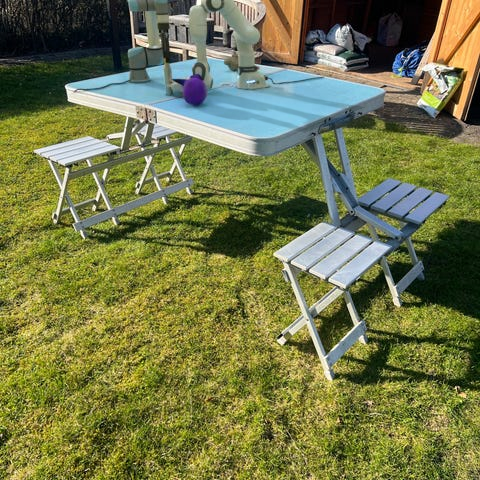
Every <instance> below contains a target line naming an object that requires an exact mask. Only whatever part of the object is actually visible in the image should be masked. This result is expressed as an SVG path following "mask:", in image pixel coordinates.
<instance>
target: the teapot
mask: <svg viewBox="0 0 480 480" xmlns="http://www.w3.org/2000/svg"><path fill="white" fill-rule="evenodd" d="M223 64H224V65H225V66H227V67H228V69H229V71H231V72H238V66H239V60H238V53H237V52H236V50H233V53H232V54H231V57H226V58H225V59H224V60H223Z"/></svg>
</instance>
